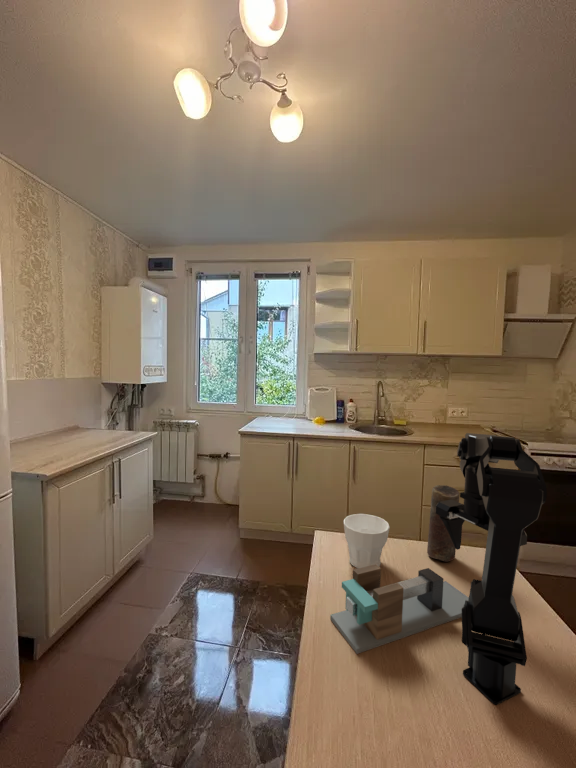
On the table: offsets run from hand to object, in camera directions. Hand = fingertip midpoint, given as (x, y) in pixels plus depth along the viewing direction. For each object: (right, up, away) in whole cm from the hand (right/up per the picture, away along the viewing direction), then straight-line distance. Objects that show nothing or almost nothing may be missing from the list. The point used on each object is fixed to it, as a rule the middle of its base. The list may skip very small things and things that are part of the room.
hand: (475, 558), depth 80 cm
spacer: (-27, -8, -7) cm, 29 cm away
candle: (+2, -11, +22) cm, 25 cm away
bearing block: (-23, -12, -5) cm, 27 cm away
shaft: (-19, -11, -3) cm, 22 cm away
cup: (-21, -10, +19) cm, 30 cm away
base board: (-16, -12, -1) cm, 20 cm away
